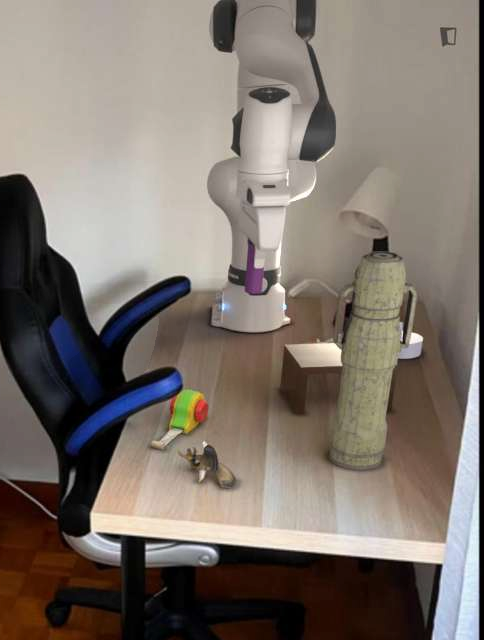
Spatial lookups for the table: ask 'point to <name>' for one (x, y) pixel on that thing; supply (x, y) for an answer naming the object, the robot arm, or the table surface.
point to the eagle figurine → (210, 465)
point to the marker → (253, 272)
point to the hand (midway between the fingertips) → (255, 264)
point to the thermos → (369, 357)
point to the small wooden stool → (312, 370)
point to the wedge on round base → (411, 346)
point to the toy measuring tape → (184, 415)
